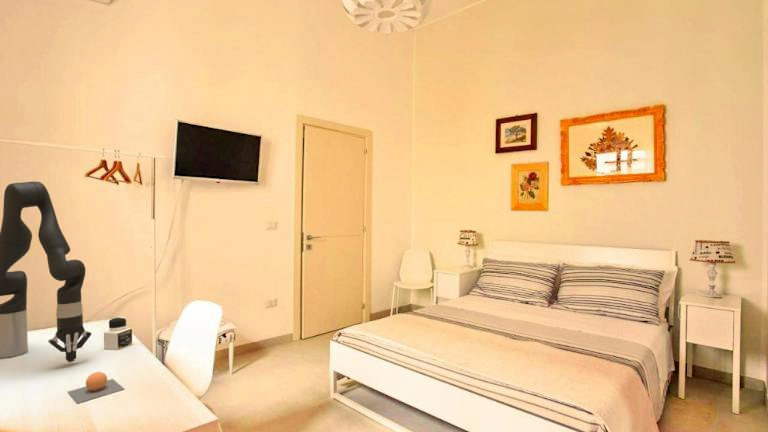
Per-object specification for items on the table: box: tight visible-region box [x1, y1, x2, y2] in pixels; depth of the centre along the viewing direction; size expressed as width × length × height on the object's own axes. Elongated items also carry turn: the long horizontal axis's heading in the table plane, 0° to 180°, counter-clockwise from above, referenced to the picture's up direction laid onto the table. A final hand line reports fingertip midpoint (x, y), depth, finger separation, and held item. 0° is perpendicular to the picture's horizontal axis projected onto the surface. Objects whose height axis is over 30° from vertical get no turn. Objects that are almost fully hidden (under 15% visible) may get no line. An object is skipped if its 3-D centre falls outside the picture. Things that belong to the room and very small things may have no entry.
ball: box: [85, 371, 108, 391], centre depth 125 cm, size 6×6×6 cm
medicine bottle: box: [103, 316, 133, 351], centre depth 166 cm, size 7×7×12 cm
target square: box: [67, 378, 125, 405], centre depth 124 cm, size 12×12×1 cm
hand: (71, 361), depth 146 cm, fingers closed
